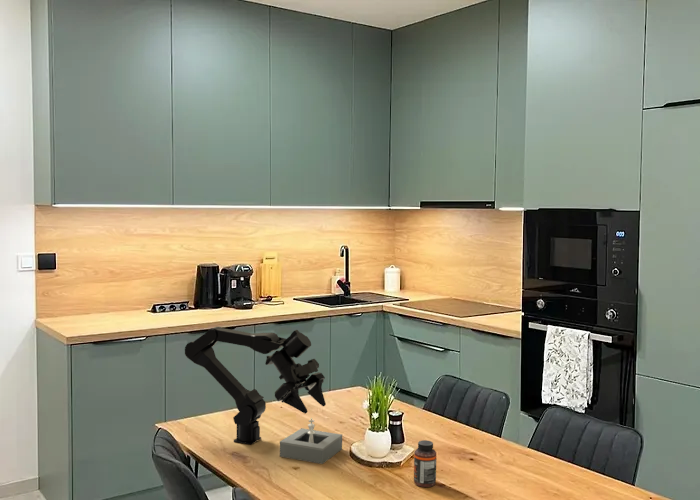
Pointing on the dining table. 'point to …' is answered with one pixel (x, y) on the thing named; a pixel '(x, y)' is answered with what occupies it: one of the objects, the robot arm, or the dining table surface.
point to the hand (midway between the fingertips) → (315, 409)
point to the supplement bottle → (425, 464)
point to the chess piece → (311, 431)
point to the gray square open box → (311, 446)
